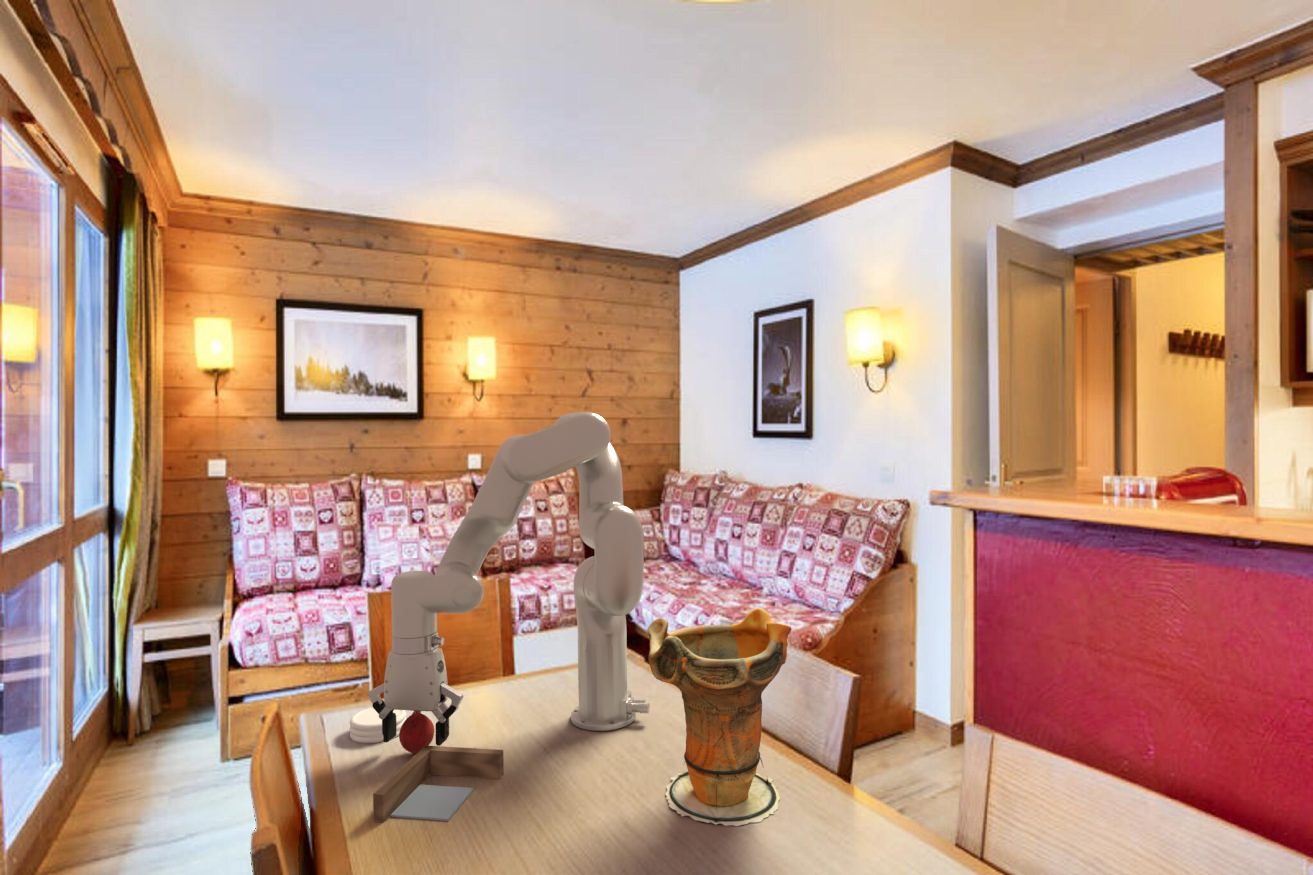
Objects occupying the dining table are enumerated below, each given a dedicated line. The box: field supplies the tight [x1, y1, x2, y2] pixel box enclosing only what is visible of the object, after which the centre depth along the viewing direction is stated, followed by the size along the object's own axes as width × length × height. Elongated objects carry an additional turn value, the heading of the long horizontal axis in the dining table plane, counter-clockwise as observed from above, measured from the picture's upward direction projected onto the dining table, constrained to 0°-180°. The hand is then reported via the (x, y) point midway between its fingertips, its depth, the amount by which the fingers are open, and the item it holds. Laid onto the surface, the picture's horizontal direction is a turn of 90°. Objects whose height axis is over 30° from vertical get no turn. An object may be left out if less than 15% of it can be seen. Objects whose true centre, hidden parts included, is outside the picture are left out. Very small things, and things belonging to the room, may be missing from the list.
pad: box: [390, 784, 475, 822], centre depth 107 cm, size 9×9×1 cm
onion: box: [398, 711, 435, 756], centre depth 124 cm, size 6×6×8 cm
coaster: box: [349, 706, 407, 744], centre depth 134 cm, size 10×10×4 cm
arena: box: [372, 745, 505, 823], centre depth 109 cm, size 14×16×4 cm
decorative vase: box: [646, 607, 792, 827], centre depth 108 cm, size 21×23×28 cm
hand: (415, 740), depth 124 cm, fingers open, 9 cm apart
